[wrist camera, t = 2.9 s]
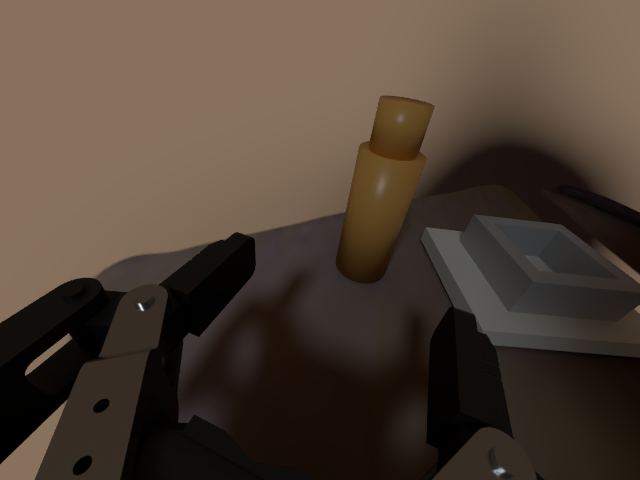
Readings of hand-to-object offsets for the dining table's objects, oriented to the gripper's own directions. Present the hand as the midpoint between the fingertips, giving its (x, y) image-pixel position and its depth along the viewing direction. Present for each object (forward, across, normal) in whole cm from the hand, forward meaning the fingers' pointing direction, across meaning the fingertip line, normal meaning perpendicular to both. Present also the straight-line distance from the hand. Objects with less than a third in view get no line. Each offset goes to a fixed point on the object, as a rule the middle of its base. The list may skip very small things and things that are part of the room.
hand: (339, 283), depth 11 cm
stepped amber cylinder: (+11, 0, +8) cm, 13 cm away
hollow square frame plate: (+14, -13, +8) cm, 21 cm away
